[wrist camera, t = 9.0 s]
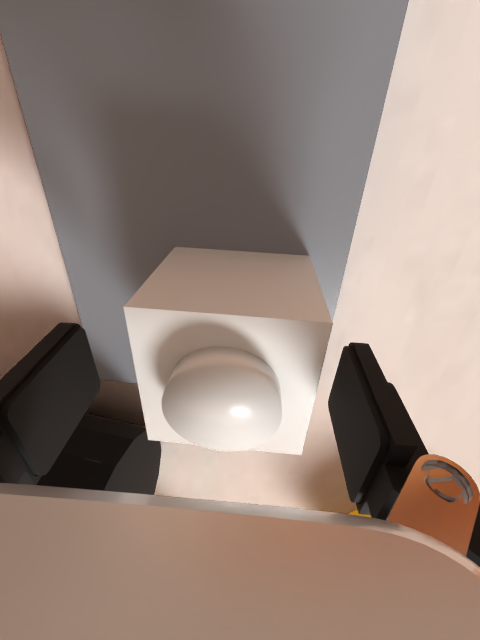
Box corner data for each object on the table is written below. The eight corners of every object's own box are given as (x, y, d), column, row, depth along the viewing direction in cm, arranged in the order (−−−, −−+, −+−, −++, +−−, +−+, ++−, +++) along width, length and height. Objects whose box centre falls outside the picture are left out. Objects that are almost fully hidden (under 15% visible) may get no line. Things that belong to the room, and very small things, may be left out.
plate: (-10, -91, 10) (-43, -118, 9) (417, -87, 9) (436, -115, 8) (105, 367, 20) (97, 379, 19) (311, 385, 20) (314, 399, 19)
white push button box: (175, 246, 14) (108, 323, 8) (309, 255, 14) (339, 342, 8) (183, 352, 18) (139, 461, 12) (291, 361, 17) (303, 478, 11)
